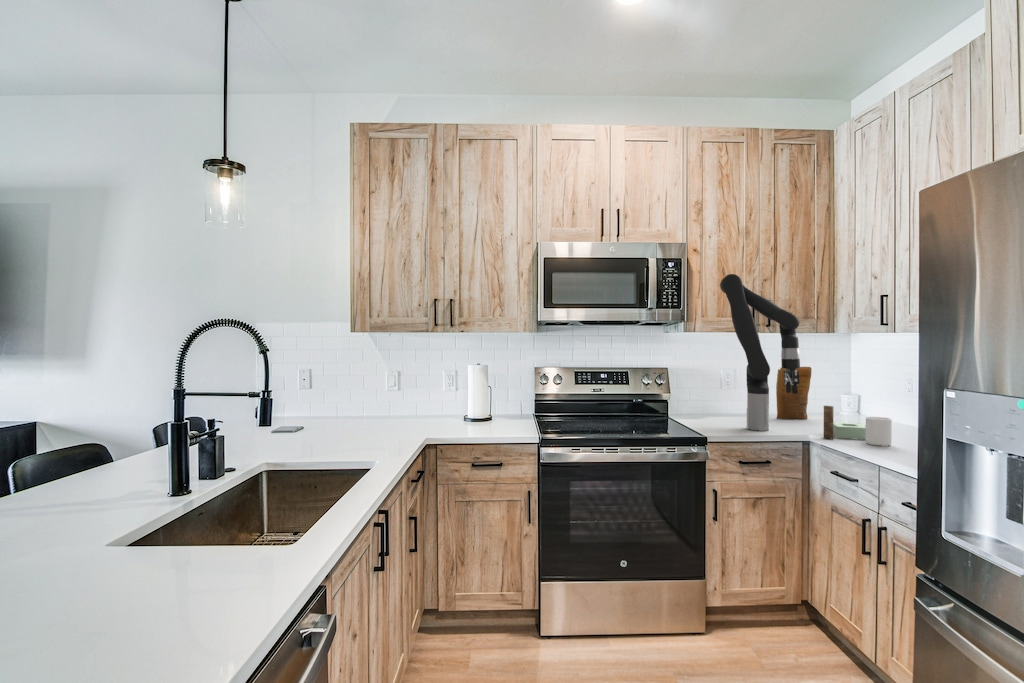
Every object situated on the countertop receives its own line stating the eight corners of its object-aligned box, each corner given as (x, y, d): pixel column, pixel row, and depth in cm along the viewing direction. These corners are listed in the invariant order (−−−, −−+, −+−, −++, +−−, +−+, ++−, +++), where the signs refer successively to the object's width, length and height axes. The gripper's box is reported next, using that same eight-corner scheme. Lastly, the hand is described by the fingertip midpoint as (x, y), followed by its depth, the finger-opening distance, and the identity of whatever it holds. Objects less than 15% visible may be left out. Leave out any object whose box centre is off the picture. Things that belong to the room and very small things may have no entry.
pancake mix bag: (814, 420, 271) (815, 366, 271) (778, 419, 272) (778, 366, 272) (808, 418, 278) (808, 366, 278) (772, 417, 279) (772, 366, 278)
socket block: (837, 438, 223) (837, 426, 223) (830, 433, 234) (830, 422, 234) (870, 439, 219) (870, 428, 219) (861, 434, 231) (861, 423, 231)
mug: (877, 440, 218) (877, 415, 218) (896, 446, 206) (896, 419, 206) (856, 440, 219) (856, 415, 218) (873, 446, 207) (874, 419, 206)
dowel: (824, 439, 221) (824, 406, 221) (822, 437, 225) (822, 405, 225) (834, 439, 220) (834, 406, 220) (832, 437, 224) (832, 405, 223)
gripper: (777, 358, 247) (778, 392, 246) (786, 358, 233) (787, 394, 232) (794, 358, 246) (795, 392, 245) (804, 357, 232) (806, 394, 231)
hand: (791, 393), depth 239 cm, fingers open, 8 cm apart
